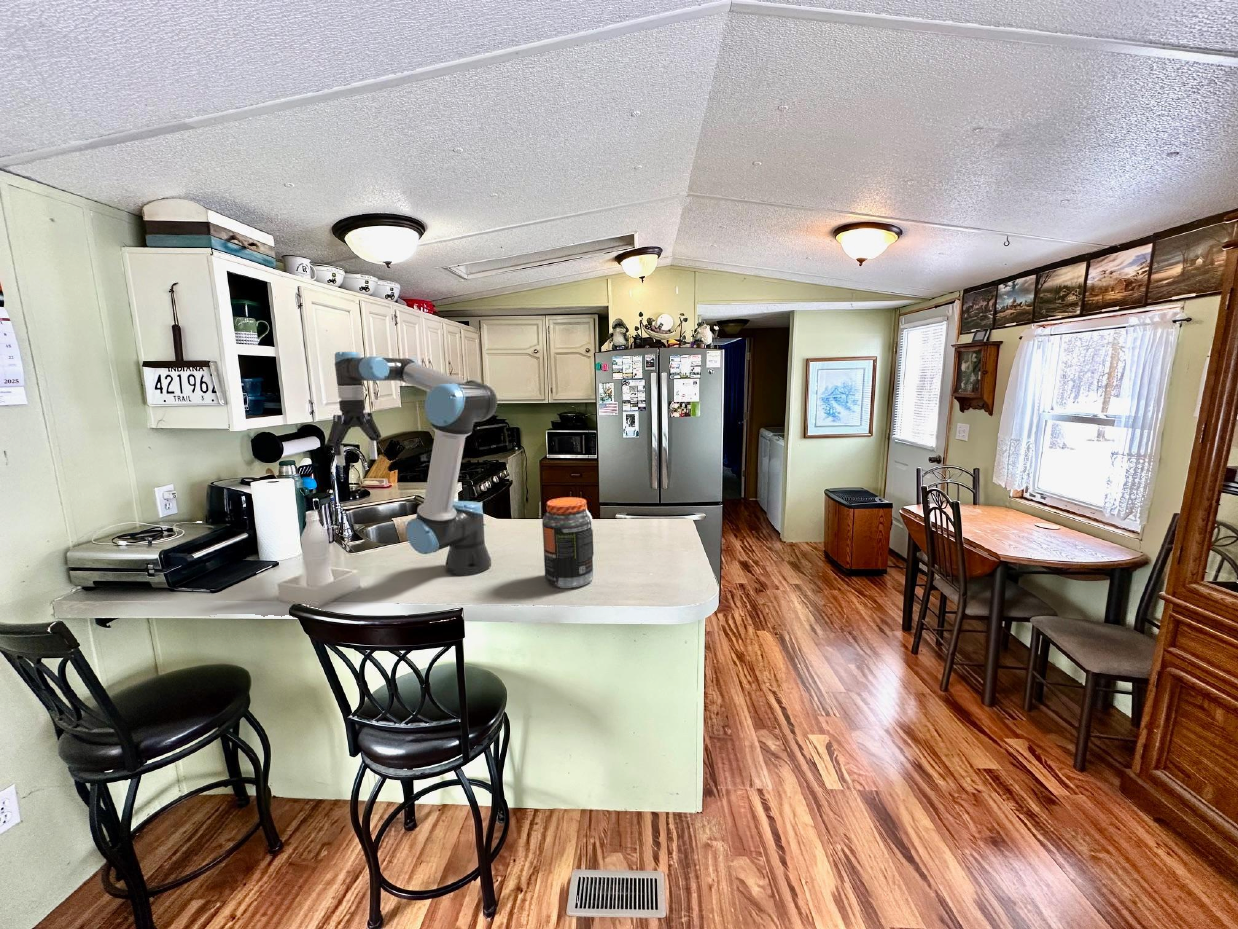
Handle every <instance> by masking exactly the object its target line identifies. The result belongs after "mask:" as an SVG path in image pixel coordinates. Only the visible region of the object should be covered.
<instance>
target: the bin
mask: <svg viewBox="0 0 1238 929" xmlns="http://www.w3.org/2000/svg"><path fill="white" fill-rule="evenodd" d="M330 567H331V572H332V575H333V579H334V580H333V581H331V582H329V583H327V584H324V585H322V586H320V587H317V588H314V587H307V586H306V572H303V573H301V574H298V575H295V576H292V577H291V578H288V579H286V580H283V581H281V582H278V583H277V590H278V598H279V602H280V603H281V602H283V603H288V604H293V605H298V604H305V605H309V606H308V607H310V606H313V607H312V608H316V607H317V609H319V608H321V607H323V606H325V605H327V604H329V603H332V602H334V601H335V600H338V599H339V598H341V597H344V596H347V595H349V594H350V593H352V592H354V591H357V590H359V589H360V588H361V579H360V571H359V570H356V569H349V568H340V567H335V566H334V567H333V566H330Z"/></svg>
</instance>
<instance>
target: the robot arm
mask: <svg viewBox="0 0 1238 929" xmlns="http://www.w3.org/2000/svg"><path fill="white" fill-rule="evenodd" d="M334 369H335V376H336V377H335V378H336V384H337V394H338V398H339V399H340V400H339V401H338V406H339V411H340V412H341V414H334V415H333V416H332V425H331V427H330V431H329V434H328V437H327V441H326V443H327V445H330V446H333V454H334V456H335V459H336V465H337V466H346V460H345V450H344V445H342V443H343V442H344V440H345V438H346V436H347V434H348V433H349V431H350V430H351V429H352V428H360V430H361V431H362V432H363V433H364V434H365V435H366V437H367V438H368V440H367V444H368V445H367V446H368V454H369V456H368V457H369V460H378V451H377V450H378V442H377V441H380V439H381V438H382V434H381V432H380V430H379V428H378V426H377V424H376V422H375V420H374V418H373V413H372V412H365V410H366V405H365V403H366V402H365V399H364V397H365V393H364V384H363V382H365V381H366V382H367V381H368V382H370V381H371V382H379V381H380V382H382V381H384V382H387V381H388V382H389V381H390V382H391V381H393V382H395V381H396V382H397V381H399V382H402V383H405V384H408V385H411V386H412V387H416V388H418V389H421V390H424V391H426V392H428V393H427V396H426V398H425V402H424V411H425V412H426V414H425V415H426V418H427V419H428V421H429V422H430V427H431V428H432V429H433V431H434V438H433V439H434V440H433V444H432V449H431V450H432V451H431V458H430V461H429V462H430V463H429V469H428V476H427V481H426V488H425V493H424V500H423V503H421V504H420V505H418V506H417V510H416V514H415V515H416V516H415V518H411V519H410V520H409V521H408V522H407V523H406V526H405V536H406V538H407V541H408V543H409V545H410V546H411V547H412V548H413V550H415V551H416V552H417V553H418V554H422V555H430V554H432V553H437V552H438V551H440V550H443V549H445V548H449V549H448V552H447V556H446V559H445V560H446V561H445V564H444V567H445V572H446V573H447V574H449V573H450V574H449V575H453V576H471V575H470V574H472V575H474V574H473V573H477V574H479V572H480V573H483V572H485V571H484V570H486V571H487V570H489V569H490V568H491V567H492V558H491V556H490V555H489V554H490V553H489V551H488V549H487V546H486V542H485V541H486V540H485V521H484V511H483V506H482V504H481V503H479V502H478V501H470V500H469V501H468V500H465V501H464V500H459V501H455V496H456V490H457V487H458V486H457V485H458V480H459V477H460V476H459V474H460V470H461V463H462V458H463V454H464V448H465V442H466V438H467V437H468V436H470V435H471V434H472V433H473V428H474V423H476V422H477V423H478V422H483V421H486V420H488V419H489V418H491V417H492V416H493V415H494V414H495V412H496V410H497V407H498V397H497V395H496V392H495V391H494V390H493V389H492V387H491V386H489V385H487V384H485V383H483V382H479V381H477V380H473V379H469V380H464V379H461V378H458V377H455V376H453V375H449V374H448V373H444V372H442V371H439V370H436V369H434V368H430V367H428V366H426V365H422V364H420V363H419V362H418V361H417V360H416V359H413V358H408V357H404V358H402V357H400V358H398V357H380V356H373V355H371V356H363V357H361V354H360V352H357V351H336V352H335V353H334ZM489 567H490V568H489ZM482 571H483V572H482Z"/></svg>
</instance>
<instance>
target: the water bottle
mask: <svg viewBox="0 0 1238 929" xmlns="http://www.w3.org/2000/svg"><path fill="white" fill-rule="evenodd" d="M319 520H320V517H319V512H318V510H309V511H306V512H305V522H306V525H305V527H304V530H303V531H302V534H301V536H300V543H301V550H302V559H303V562H304V565H305V570H306V571H305V573H306V586H307V587H314V588H317V587H320V586H322V585H324V584H327V583H329V582H331V581H333V580H334V579H333V575H332V572H331V567H332V566H331V550H330V542H329V539H330V538H329V534H328V532H327V530H326V529H325V527H324V526H322V524H321V523H320V521H319Z"/></svg>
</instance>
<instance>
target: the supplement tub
mask: <svg viewBox="0 0 1238 929" xmlns="http://www.w3.org/2000/svg"><path fill="white" fill-rule="evenodd" d="M545 508H546V512H545V514H544V515H543V517H542V521H541V524H542V525H541V526H542V542H543V543H542V544H543V559H544V560H543V561H544V578H545V581H546V582H547V584H548V585H550V584H551V585H550V586H552V587H555V586H556V587H555V588H559V587H560V589H572V587H573V588H577V587H578V588H579V587H582V586H585V585H587V584H590V583H591V582H592V581H593V580H594V577H595V558H594V555H595V554H594V553H595V552H594V528H593V527H594V526H593V524H594V523H593V516H592V514H591V512H589V510H588V504H587V500H586V499H585V498H582V497H573V496H572V497H571V496H570V497H569V496H568V497H566V496H565V497H559V498H557V497H556V498H553V499H550V500H548V501H547V502H546V507H545Z"/></svg>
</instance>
